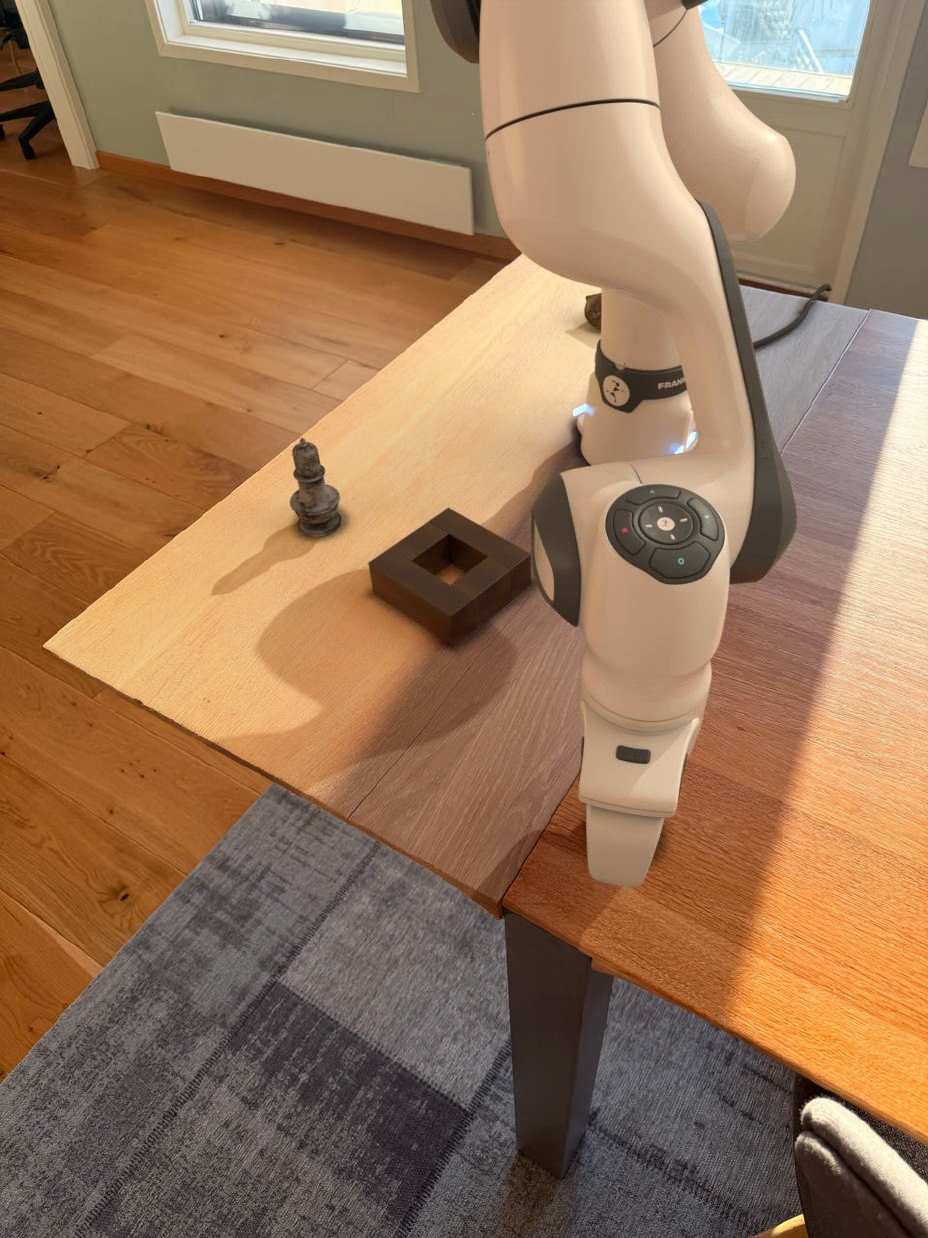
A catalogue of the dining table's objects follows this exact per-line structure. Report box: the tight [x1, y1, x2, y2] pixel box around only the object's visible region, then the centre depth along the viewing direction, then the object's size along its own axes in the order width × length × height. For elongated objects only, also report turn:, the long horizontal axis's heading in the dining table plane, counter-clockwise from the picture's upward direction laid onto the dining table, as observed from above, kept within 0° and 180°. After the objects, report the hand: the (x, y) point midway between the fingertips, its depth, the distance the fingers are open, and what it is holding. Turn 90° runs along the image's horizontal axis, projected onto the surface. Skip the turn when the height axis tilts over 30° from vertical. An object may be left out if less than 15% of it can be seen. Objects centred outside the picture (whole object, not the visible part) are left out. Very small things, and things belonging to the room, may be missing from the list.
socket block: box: [367, 507, 532, 648], centre depth 97 cm, size 12×12×4 cm
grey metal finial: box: [289, 437, 343, 538], centre depth 104 cm, size 6×6×12 cm
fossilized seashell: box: [583, 291, 602, 330], centre depth 136 cm, size 8×7×10 cm
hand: (625, 807), depth 74 cm, fingers open, 8 cm apart
